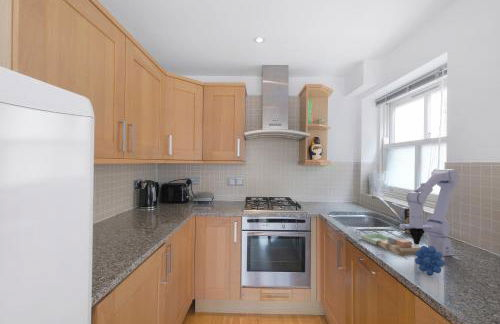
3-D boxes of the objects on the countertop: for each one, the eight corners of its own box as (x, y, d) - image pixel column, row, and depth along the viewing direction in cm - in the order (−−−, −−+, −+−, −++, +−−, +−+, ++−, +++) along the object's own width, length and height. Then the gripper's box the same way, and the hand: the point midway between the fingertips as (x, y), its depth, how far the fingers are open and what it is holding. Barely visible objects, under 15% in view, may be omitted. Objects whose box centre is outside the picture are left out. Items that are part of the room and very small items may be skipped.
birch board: (420, 253, 127) (420, 247, 127) (401, 255, 124) (401, 249, 124) (395, 243, 142) (395, 238, 142) (377, 245, 139) (377, 240, 139)
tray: (395, 243, 143) (395, 239, 143) (375, 245, 140) (375, 240, 140) (379, 237, 155) (378, 233, 156) (360, 238, 152) (360, 234, 152)
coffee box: (404, 232, 168) (403, 208, 169) (410, 231, 171) (409, 207, 171) (418, 235, 160) (417, 210, 160) (424, 234, 163) (423, 209, 163)
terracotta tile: (411, 246, 128) (411, 241, 128) (403, 247, 127) (403, 242, 127) (403, 243, 133) (403, 239, 133) (395, 244, 132) (395, 239, 132)
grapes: (451, 279, 98) (451, 248, 98) (440, 281, 95) (440, 250, 95) (422, 267, 108) (422, 240, 109) (411, 270, 106) (411, 241, 106)
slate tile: (402, 243, 133) (402, 238, 133) (395, 244, 132) (395, 239, 132) (395, 240, 138) (395, 236, 138) (387, 241, 137) (387, 236, 137)
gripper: (427, 215, 126) (427, 242, 126) (396, 214, 128) (397, 240, 128) (436, 218, 119) (436, 246, 119) (403, 216, 121) (403, 245, 121)
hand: (416, 243), depth 123 cm, fingers closed
